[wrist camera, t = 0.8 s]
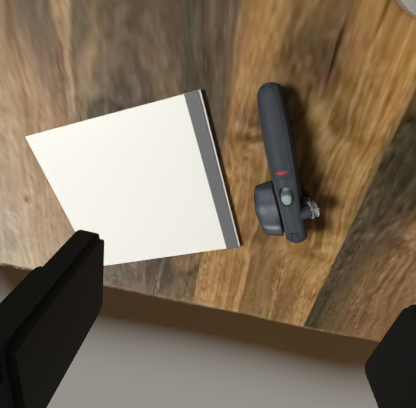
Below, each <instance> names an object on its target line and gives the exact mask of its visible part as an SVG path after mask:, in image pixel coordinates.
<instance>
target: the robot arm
mask: <svg viewBox="0 0 416 408" xmlns="http://www.w3.org/2000/svg"><path fill="white" fill-rule="evenodd" d="M396 1H397V3H398V5H399V6H400V7H401V8H402V9H403V10H404V11H405V12H406V13H407V14H408V15H409V16H411V17H413V18H415V19H416V0H396ZM103 268H104V240H103V239H100V238H99V234H98V233H94V232H89V231H85V230H78V231H76V232H75V233H74V234H73V235H72V237H71V238H70V239H69V240H68V241H67V242H66V243H65V244H64V245H63V246H62V247H61V248H60V249H59V250H58V251H57V252H56V253H55V255H54V256H53V257H52V258H51V259H50V260H49V261H48V262H47V263H46V264H45V265H44V266H43V267H41V266H39V267H37V268H35V269H34V270H32V271H31V272H30V273H29V274H28V275H27V276H26V277H25V278H24V279H23V280H22V281H21V283H19V285H17V287H16V288H15V289H14V290H13V291H12V292H11V293H10V294H9V295H8V296H7V297H6V298H5V299H4V300H3V301H2V302H1V303H0V408H46V407H47V406H48V404H49V402H50V400H51V398H52V396H53V395H54V393H55V391H56V389H57V388H58V386H59V384H60V382H61V380H62V378H63V377H64V375H65V373H66V371H67V369H68V368H69V366H70V364H71V362H72V361H73V359H74V357H75V355H76V353H77V351H78V350H79V348H80V346H81V345H82V343H83V341H84V339H85V337H86V336H87V334H88V332H89V330H90V328H91V327H92V324H93V323H94V321H95V320H96V318H97V316H98V314H99V312H100V309H101V306H102V296H103ZM365 373H366V376H367V379H368V381H369V384H370V386H371V389H372V391H373V394H374V397H375V399H376V402H377V405H378V407H379V408H416V305H411V306H409V307H408V308H405V309H403V310H402V312H401V313H400V315H399V316H398V317H397V319H396V320H395V322H394V323H393V325H392V326H391V327H390V329H389V330H388V332H387V333H386V334H385V336H384V337H383V339H382V340H381V342H380V343H379V344H378V346H377V347H376V349H375V350H374V352H373V353H372V354H371V356H370V357H369V359H368V360H367V362H366V365H365Z"/></svg>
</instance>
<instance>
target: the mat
mask: <svg viewBox="0 0 416 408" xmlns="http://www.w3.org/2000/svg"><path fill="white" fill-rule="evenodd" d="M26 139H27V141H28V143H29V145H30V147H31V149H32V151H33V152H34V154H35V156H36V158H37V160H38V162H39V164H40V166H41V168H42V170H43V171H44V173H45V175H46V177H47V179H48V181H49V183H50V185H51V187H52V188H53V190H54V192H55V194H56V196H57V198H58V200H59V202H60V204H61V206H62V207H63V209H64V211H65V213H66V215H67V217H68V219H69V221H70V223H71V224H72V226H73V228H74V230H75V232H76V231H78V230H85V231H89V232H94V233H98V234H99V238H100V239H103V240H104V266H105V265H112V264H119V263H126V262H133V261H140V260H147V259H154V258H161V257H168V256H175V255H183V254H190V253H197V252H204V251H211V250H218V249H225V248H227V249H231V248H238V247H239V246H240V242H239V238H238V234H237V230H236V226H235V222H234V218H233V214H232V210H231V206H230V202H229V199H228V195H227V191H226V187H225V183H224V179H223V175H222V171H221V167H220V163H219V159H218V155H217V151H216V147H215V143H214V139H213V135H212V131H211V127H210V123H209V119H208V115H207V111H206V107H205V103H204V99H203V95H202V91H201V89H200V90H196V91H193V92H189V93H185V94H181V95H178V96H174V97H170V98H167V99H163V100H159V101H155V102H152V103H148V104H144V105H140V106H137V107H133V108H129V109H125V110H122V111H118V112H114V113H110V114H107V115H103V116H99V117H96V118H92V119H88V120H84V121H81V122H77V123H73V124H69V125H66V126H62V127H58V128H54V129H51V130H47V131H43V132H39V133H36V134H32V135H28V136H26Z"/></svg>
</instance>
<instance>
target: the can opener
mask: <svg viewBox="0 0 416 408" xmlns="http://www.w3.org/2000/svg"><path fill="white" fill-rule="evenodd" d="M257 101H258V109H259V116H260V122H261V129H262V135H263V141H264V146H265V151H266V156H267V160H268V165H269V169H270V174H271V177H272V181H268V182H265V183H262V184H260V185H257V186H256V187H255V191H254V203H255V210H256V214H257V217H258V220H259V223H260V225H261V227H262V229H263V231H264V232H265V234H267V235H277V236H283V233H284V230H285V234H286V238H287V239H288V240H289V241H291V242H294V243H299V242H302V241H304V240H305V239H306V238H307V225H306V219H308V218H311V219H313V218H314V217H319V209H320V208H318V206H317V204H316V203H315V202H314V201H312V198H311V196H310V194H309V193H308V192H307V191H306V190H305V189H304V188H302V187H301V185H300V181H299V176H298V171H297V165H296V158H295V151H294V144H293V138H292V133H291V127H290V122H289V118H288V113H287V109H286V105H285V101H284V97H283V93H282V90H281V88H280V86H279V85H278V84H276V83H273V82H270V83H266V84H264V85H262V86H261V87H260V88H259V90H258V94H257Z"/></svg>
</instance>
